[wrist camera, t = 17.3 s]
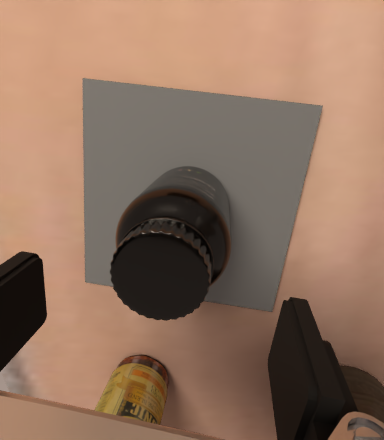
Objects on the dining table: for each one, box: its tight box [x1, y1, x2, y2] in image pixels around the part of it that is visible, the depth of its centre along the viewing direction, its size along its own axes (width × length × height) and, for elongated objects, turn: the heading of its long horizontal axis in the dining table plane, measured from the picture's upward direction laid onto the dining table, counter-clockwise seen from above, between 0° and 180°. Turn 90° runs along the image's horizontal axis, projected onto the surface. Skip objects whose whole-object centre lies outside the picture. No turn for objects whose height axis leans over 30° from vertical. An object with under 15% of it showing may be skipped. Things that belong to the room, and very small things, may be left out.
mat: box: [83, 78, 323, 312], centre depth 25 cm, size 18×18×1 cm
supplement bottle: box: [110, 166, 231, 321], centre depth 19 cm, size 7×7×12 cm
